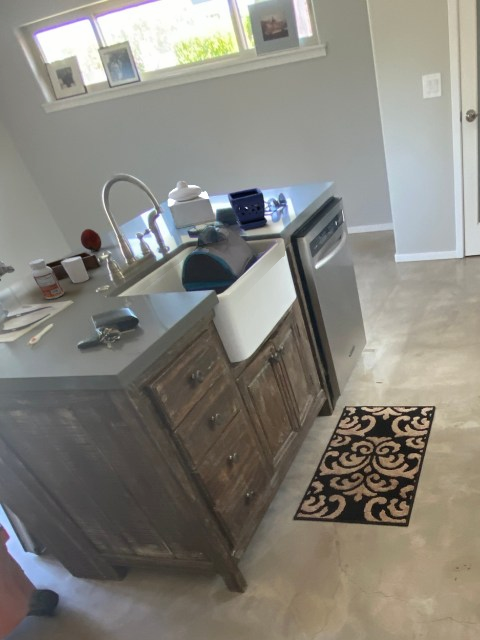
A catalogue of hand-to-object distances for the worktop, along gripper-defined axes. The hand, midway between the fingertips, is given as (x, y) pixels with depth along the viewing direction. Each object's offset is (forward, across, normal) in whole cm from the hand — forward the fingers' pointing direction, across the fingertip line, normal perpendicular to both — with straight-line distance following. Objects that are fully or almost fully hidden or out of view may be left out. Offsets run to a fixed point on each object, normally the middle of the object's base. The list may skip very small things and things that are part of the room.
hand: (6, 273), depth 169 cm
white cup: (+15, +14, +9) cm, 23 cm away
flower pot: (+72, +57, +10) cm, 93 cm away
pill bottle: (+12, 0, +9) cm, 15 cm away
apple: (+6, +55, +10) cm, 56 cm away
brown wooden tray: (+7, +27, +9) cm, 29 cm away
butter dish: (+42, +83, +10) cm, 93 cm away
